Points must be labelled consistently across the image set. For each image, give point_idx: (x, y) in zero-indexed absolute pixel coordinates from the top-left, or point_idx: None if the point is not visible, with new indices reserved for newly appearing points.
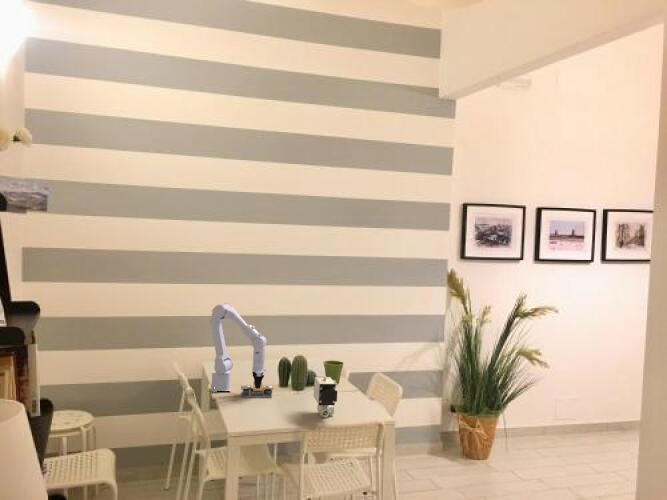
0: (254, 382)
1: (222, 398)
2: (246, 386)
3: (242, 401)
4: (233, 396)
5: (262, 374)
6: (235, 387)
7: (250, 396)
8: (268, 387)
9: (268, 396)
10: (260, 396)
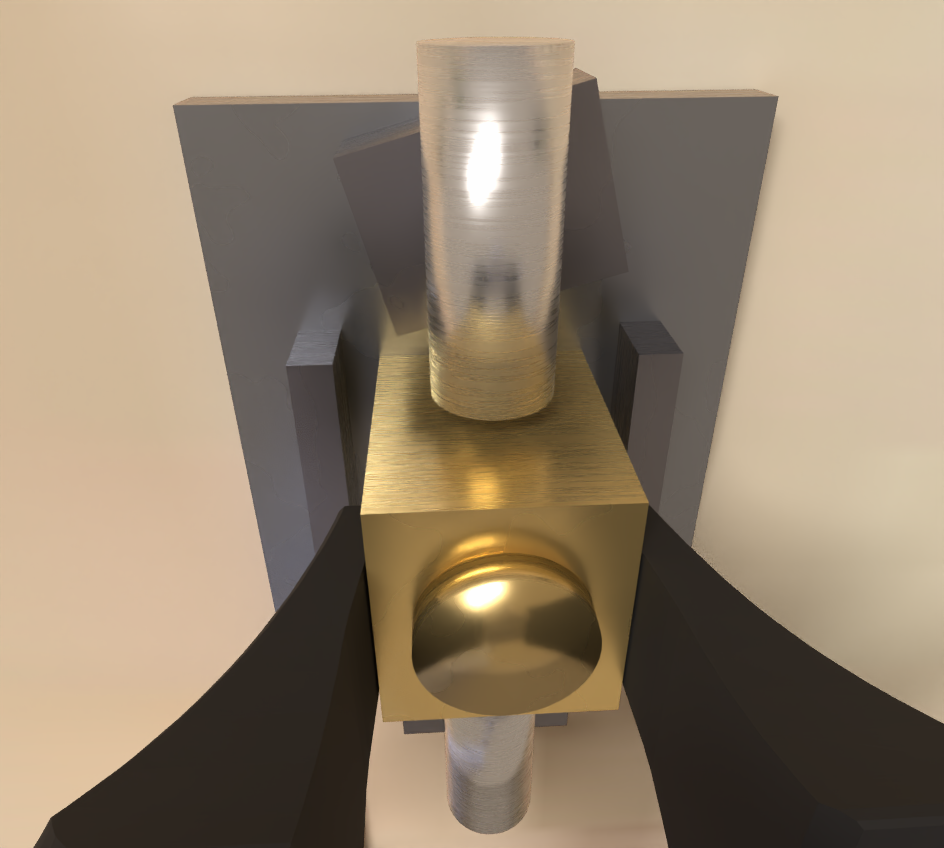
0: (424, 697)
1: (653, 835)
2: (519, 755)
3: (860, 639)
4: (563, 745)
5: (312, 780)
6: (5, 748)
7: None
8: (560, 244)
9: (751, 190)
10: (719, 382)
